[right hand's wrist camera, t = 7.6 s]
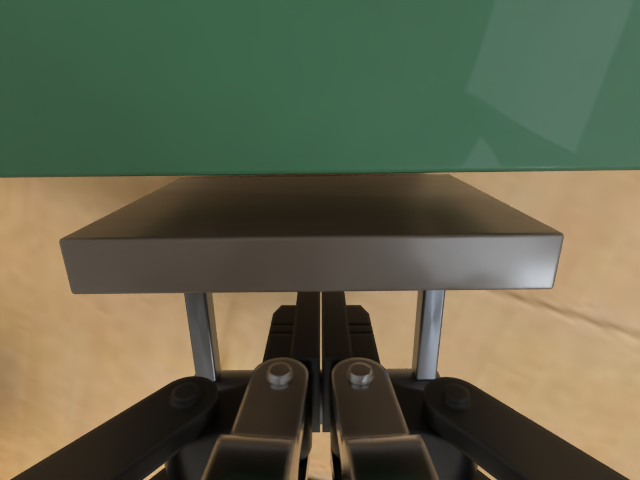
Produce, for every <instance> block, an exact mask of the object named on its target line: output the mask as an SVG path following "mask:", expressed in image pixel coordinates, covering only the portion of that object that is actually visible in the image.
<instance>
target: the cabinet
mask: <svg viewBox="0 0 640 480" xmlns="http://www.w3.org/2000/svg"><path fill="white" fill-rule="evenodd" d="M595 170H640V0H0V178H11V177H95V176H178V175H262V174H345V173H428V172H512V171H595Z"/></svg>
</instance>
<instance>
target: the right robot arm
mask: <svg viewBox="0 0 640 480" xmlns="http://www.w3.org/2000/svg"><path fill="white" fill-rule="evenodd" d="M322 422H323V432H330V436H331V469H332V478H333V480H491V479H489V478H488V477H487V476H485V475H484V474H483V473H482V472H480V471H479V470H478V469H477V468H478V465H479V466H480V467H481V468H483V469H484V470H485V471H487V472H488V473H489V474H490V475H492V476H493V477H494V478H496V479H497V480H629V479H628V478H626V477H624V476H623V475H621V474H619V473H618V472H616V471H614V470H613V469H611V468H609V467H608V466H606V465H605V464H603V463H601V462H600V461H598V460H596V459H595V458H593V457H591V456H590V455H588V454H586V453H585V452H583V451H581V450H580V449H578V448H576V447H575V446H573V445H571V444H570V443H568V442H566V441H565V440H563V439H562V438H560V437H558V436H557V435H555V434H553V433H552V432H550V431H548V430H547V429H545V428H543V427H542V426H540V425H538V424H537V423H535V422H533V421H532V420H530V419H528V418H527V417H525V416H523V415H522V414H520V413H519V412H517V411H515V410H514V409H512V408H510V407H509V406H507V405H505V404H504V403H502V402H500V401H499V400H497V399H495V398H494V397H492V396H490V395H489V394H487V393H485V392H484V391H482V390H480V389H479V388H477V387H476V386H474V385H472V384H470V383H468V382H466V381H464V380H461V379H457V378H452V377H441V378H436V379H433V380H431V381H430V382H429V383H427V385H426V386H425V388H424V390H420V389H416V388H412V387H408V386H404V385H402V384H399V383H397V382H395V381H394V380H392V379H391V378H389V375H388V373H387V371H386V369H385V368H384V367H383V366H382V365H381V364H380V361H379V356H378V352H377V348H376V343H375V339H374V334H373V330H372V326H371V321H370V317H369V313H368V312H367V311H366V310H365V309H364V308H363V307H362V306H361V305H346V302H345V294H344V291H322ZM312 432H320V291H314V292H298V294H297V303H296V305H281V306H280V307H279V308H278V309H277V311H276V312H275V313H274V314H273V317H272V322H271V326H270V331H269V335H268V340H267V345H266V349H265V354H264V358H263V362H262V363H261V364H259V365H258V366H257V367H256V368H255V369H254V371H253V373H252V375H251V378H250V380H249V381H248V382H246V383H244V384H241V385H239V386H235V387H232V388H227V389H223V390H219V391H218V390H217V386H216V385H215V383H214V382H213V381H211V380H210V379H208V378H205V377H200V376H192V377H185V378H181V379H178V380H176V381H173V382H171V383H170V384H168V385H166V386H165V387H163V388H161V389H160V390H158V391H156V392H155V393H153V394H151V395H150V396H148V397H146V398H145V399H143V400H141V401H140V402H138V403H136V404H135V405H133V406H131V407H130V408H128V409H126V410H125V411H123V412H122V413H120V414H118V415H117V416H115V417H113V418H112V419H110V420H108V421H107V422H105V423H103V424H102V425H100V426H98V427H97V428H95V429H93V430H92V431H90V432H88V433H87V434H85V435H83V436H82V437H80V438H79V439H77V440H75V441H74V442H72V443H70V444H69V445H67V446H65V447H64V448H62V449H60V450H59V451H57V452H55V453H54V454H52V455H50V456H49V457H47V458H45V459H44V460H42V461H40V462H39V463H37V464H35V465H34V466H32V467H31V468H29V469H27V470H26V471H24V472H22V473H21V474H19V475H17V476H16V477H14V478H12V479H11V480H143V479H144V478H146V477H147V476H148V475H150V474H151V473H152V472H153V471H155V470H156V469H157V468H159V467H160V466H161V465H163V464H164V463H165V468H164V469H162V470H161V471H160V472H158V473H157V474H156V475H155V476H153V477H152V478H151V479H149V480H307V478H308V469H309V453H310V450H311V447H312Z"/></svg>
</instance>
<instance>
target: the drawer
mask: <svg viewBox="0 0 640 480" xmlns="http://www.w3.org/2000/svg"><path fill="white" fill-rule="evenodd" d="M563 238H564V235H563V233H561V232H559V231H557V230H555V229H553V228H551V227H549V226H547V225H545V224H544V223H542V222H540V221H538V220H536V219H534V218H532V217H530V216H528V215H526V214H524V213H522V212H520V211H519V210H517V209H515V208H513V207H511V206H509V205H507V204H505V203H503V202H501V201H499V200H497V199H495V198H494V197H492V196H490V195H488V194H486V193H484V192H482V191H480V190H478V189H476V188H474V187H472V186H470V185H468V184H467V183H465V182H463V181H461V180H459V179H457V178H455V177H453V176H451V175H449V174H447V175H363V176H279V177H196V178H180V179H178V180H176V181H174V182H172V183H170V184H168V185H166V186H164V187H162V188H160V189H158V190H156V191H154V192H152V193H151V194H149V195H147V196H145V197H143V198H141V199H139V200H137V201H135V202H133V203H131V204H129V205H127V206H125V207H123V208H121V209H119V210H117V211H115V212H113V213H111V214H109V215H107V216H105V217H103V218H101V219H99V220H97V221H95V222H93V223H91V224H89V225H87V226H85V227H83V228H81V229H79V230H77V231H75V232H74V233H72V234H70V235H68V236H66V237H64V238H62V239H60V242H59V243H60V247H61V251H62V255H63V259H64V263H65V267H66V271H67V275H68V279H69V283H70V287H71V291H72V293H73V294H124V293H184V295H185V302H186V309H187V316H188V323H189V330H190V337H191V344H192V351H193V358H194V365H195V372H196V374H195V375H194V376H200V377H205V378H208V379H210V380H211V381H213V382H214V383H215V385H216V386H217V390H218V391H219V390H223V389H227V388H232V387H235V386H239V385H241V384H244V383H246V382H248V381H249V380H250V378H251V375H252V373H253V371H254V370H222V371H220V370H221V367H220V358H219V350H218V341H217V332H216V324H215V315H214V307H213V298H212V293H219V292H314V291H409V290H418V298H417V311H416V324H415V336H414V349H413V361H412V369H386V371H387V373H388V375H389V378H391V379H392V380H394V381H395V382H397V383H399V384H402V385H404V386H408V387H412V388H416V389H420V390H424V388H425V386H426V385H427V383H429V382H430V381H431V380H433V379H436V378H440V375H439V373H438V372H437V364H438V354H439V345H440V335H441V326H442V316H443V307H444V297H445V290H504V289H552V288H553V286H554V282H555V277H556V272H557V267H558V262H559V257H560V253H561V248H562V243H563ZM320 424H323V422H322V370H320Z"/></svg>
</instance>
